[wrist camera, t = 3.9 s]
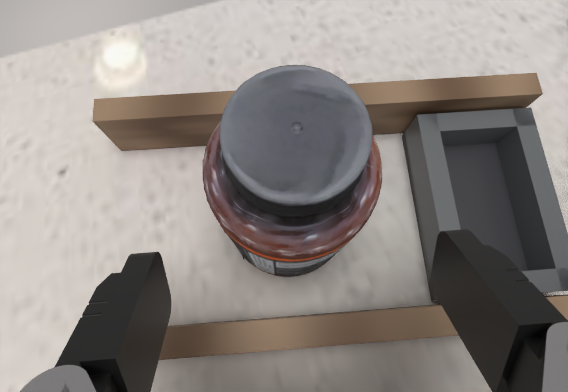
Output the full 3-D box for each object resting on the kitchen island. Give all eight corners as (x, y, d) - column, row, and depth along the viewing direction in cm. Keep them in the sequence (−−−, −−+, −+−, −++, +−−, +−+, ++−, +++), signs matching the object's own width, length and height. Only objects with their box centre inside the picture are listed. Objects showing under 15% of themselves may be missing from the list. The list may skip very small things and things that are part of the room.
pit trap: (503, 129, 22) (531, 107, 20) (546, 291, 20) (583, 289, 17) (402, 135, 22) (417, 114, 20) (431, 300, 20) (453, 299, 17)
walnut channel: (498, 107, 23) (536, 72, 19) (554, 320, 19) (612, 322, 16) (122, 131, 22) (94, 99, 19) (111, 356, 19) (74, 366, 15)
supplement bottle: (229, 174, 21) (178, 33, 10) (335, 166, 22) (393, 20, 11) (234, 284, 20) (179, 251, 9) (349, 274, 20) (434, 231, 9)
